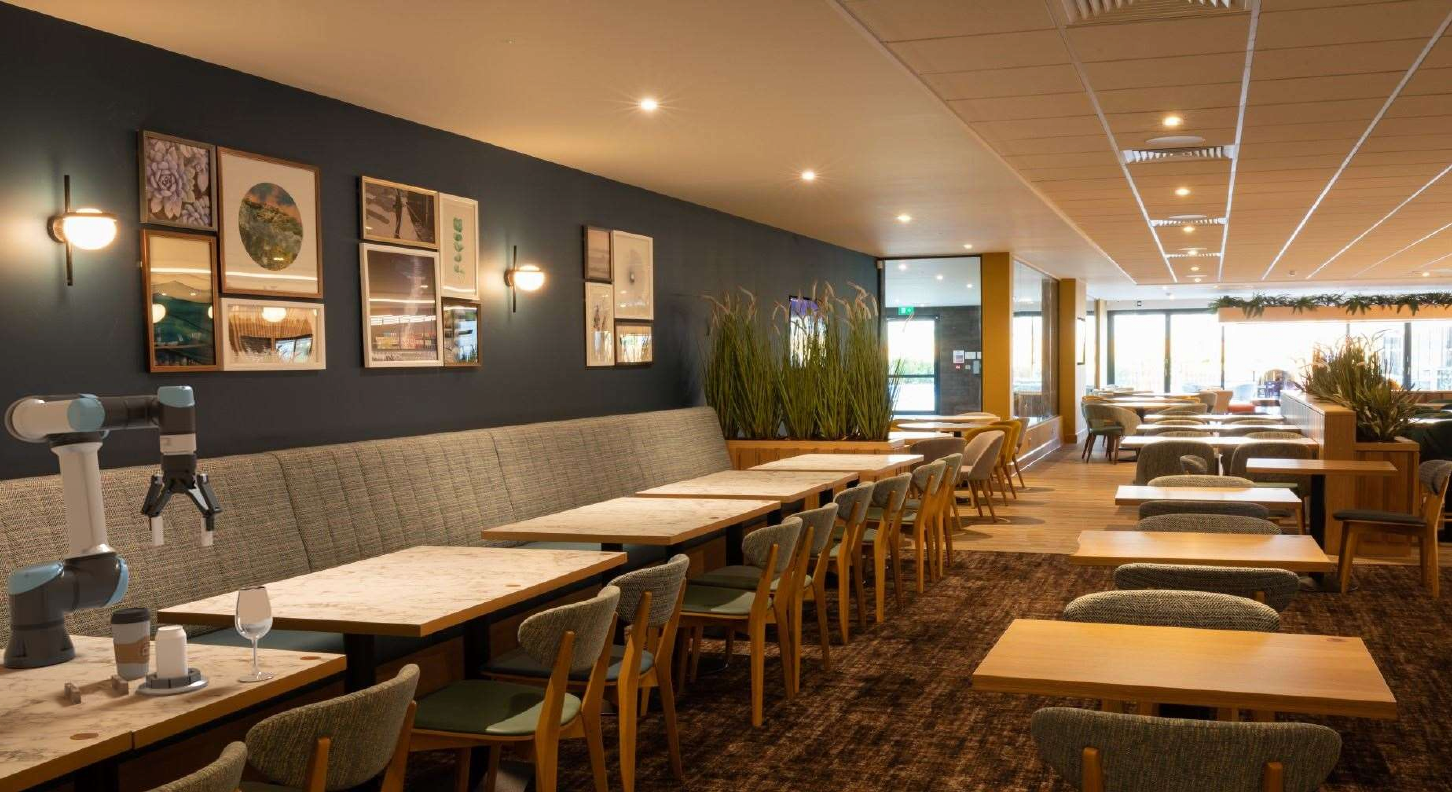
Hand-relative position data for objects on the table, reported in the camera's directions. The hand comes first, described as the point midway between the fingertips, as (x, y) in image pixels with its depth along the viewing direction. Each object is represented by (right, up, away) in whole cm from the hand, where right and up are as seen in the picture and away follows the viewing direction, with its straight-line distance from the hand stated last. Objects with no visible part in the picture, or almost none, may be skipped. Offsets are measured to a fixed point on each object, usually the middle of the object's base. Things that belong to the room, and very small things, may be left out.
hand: (182, 545), depth 282 cm
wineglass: (+21, -28, -9) cm, 36 cm away
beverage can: (+5, -28, -15) cm, 32 cm away
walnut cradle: (-10, -30, -19) cm, 37 cm away
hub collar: (+5, -29, -15) cm, 33 cm away
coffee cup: (-9, -29, -4) cm, 31 cm away
